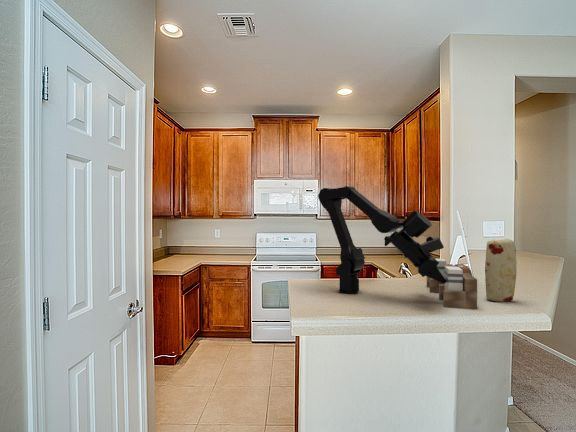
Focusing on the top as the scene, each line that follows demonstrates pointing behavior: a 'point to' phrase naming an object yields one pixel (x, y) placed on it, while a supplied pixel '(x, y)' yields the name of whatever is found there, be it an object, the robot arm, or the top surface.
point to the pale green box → (441, 265)
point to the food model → (500, 270)
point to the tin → (464, 268)
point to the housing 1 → (434, 283)
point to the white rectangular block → (453, 278)
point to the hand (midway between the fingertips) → (445, 282)
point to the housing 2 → (460, 294)
